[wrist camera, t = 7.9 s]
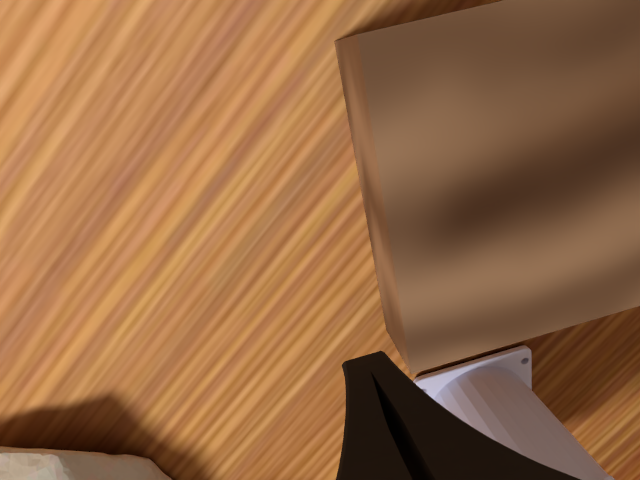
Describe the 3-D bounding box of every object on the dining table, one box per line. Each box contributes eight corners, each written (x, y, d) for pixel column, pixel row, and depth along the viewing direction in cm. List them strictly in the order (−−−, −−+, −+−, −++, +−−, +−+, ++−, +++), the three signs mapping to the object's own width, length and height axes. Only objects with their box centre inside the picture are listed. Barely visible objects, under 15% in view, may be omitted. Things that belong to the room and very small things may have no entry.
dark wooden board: (599, 268, 26) (657, 300, 22) (386, 329, 25) (411, 373, 21) (620, -26, 20) (706, -47, 16) (334, 41, 19) (357, 34, 15)
